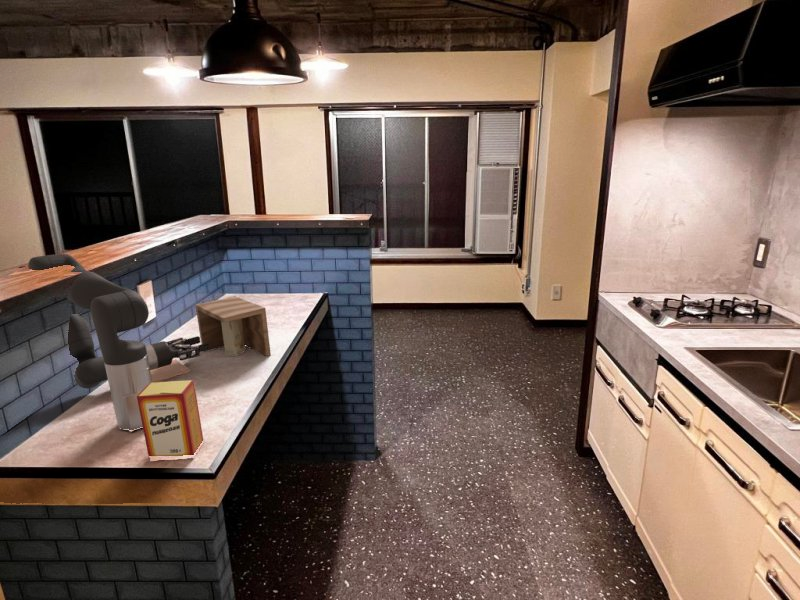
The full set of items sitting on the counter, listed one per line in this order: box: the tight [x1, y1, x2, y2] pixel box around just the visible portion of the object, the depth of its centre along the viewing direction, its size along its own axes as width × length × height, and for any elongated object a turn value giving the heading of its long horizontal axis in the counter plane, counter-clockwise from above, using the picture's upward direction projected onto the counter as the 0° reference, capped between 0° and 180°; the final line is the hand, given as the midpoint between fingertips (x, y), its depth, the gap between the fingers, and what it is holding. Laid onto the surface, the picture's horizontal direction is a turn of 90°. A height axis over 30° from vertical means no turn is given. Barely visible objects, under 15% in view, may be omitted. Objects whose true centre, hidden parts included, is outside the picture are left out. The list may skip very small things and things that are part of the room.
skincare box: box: [221, 318, 247, 357], centre depth 166 cm, size 6×4×12 cm
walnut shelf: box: [195, 296, 272, 358], centre depth 165 cm, size 22×14×16 cm, turn 43°
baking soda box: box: [137, 379, 204, 457], centre depth 109 cm, size 10×6×16 cm
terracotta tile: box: [150, 358, 191, 383], centre depth 154 cm, size 12×12×1 cm
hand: (204, 342), depth 159 cm, fingers open, 8 cm apart
